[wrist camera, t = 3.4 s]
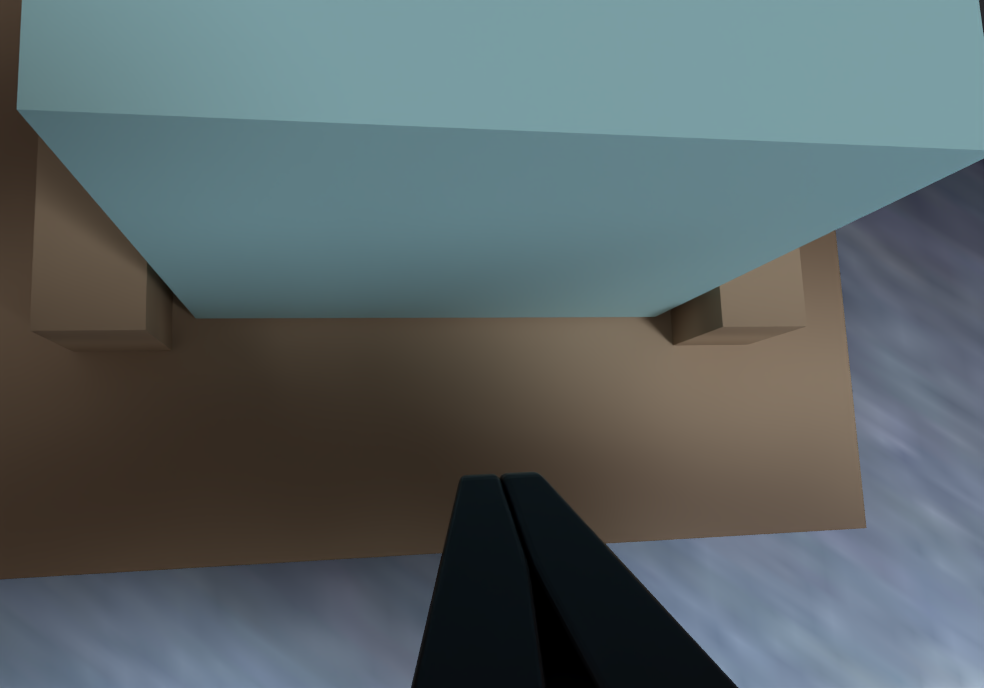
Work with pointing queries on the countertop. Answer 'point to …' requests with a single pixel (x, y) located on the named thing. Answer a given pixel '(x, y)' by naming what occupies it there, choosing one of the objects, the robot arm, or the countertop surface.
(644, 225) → the paddle button
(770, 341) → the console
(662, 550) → the countertop surface
